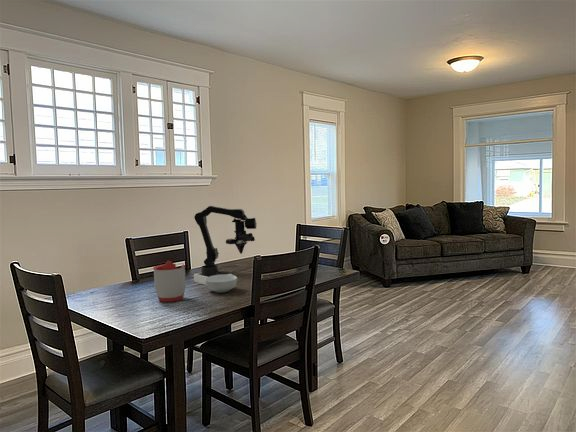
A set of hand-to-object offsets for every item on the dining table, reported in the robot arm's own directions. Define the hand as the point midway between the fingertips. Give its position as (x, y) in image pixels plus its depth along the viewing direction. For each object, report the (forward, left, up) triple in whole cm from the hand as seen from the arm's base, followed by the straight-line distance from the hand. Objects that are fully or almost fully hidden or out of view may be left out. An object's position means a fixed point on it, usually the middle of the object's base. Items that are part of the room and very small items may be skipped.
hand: (241, 253), depth 286 cm
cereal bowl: (+29, -35, -12) cm, 47 cm away
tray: (+7, -25, -12) cm, 29 cm away
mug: (+6, -27, -12) cm, 30 cm away
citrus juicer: (+23, -61, -12) cm, 67 cm away
